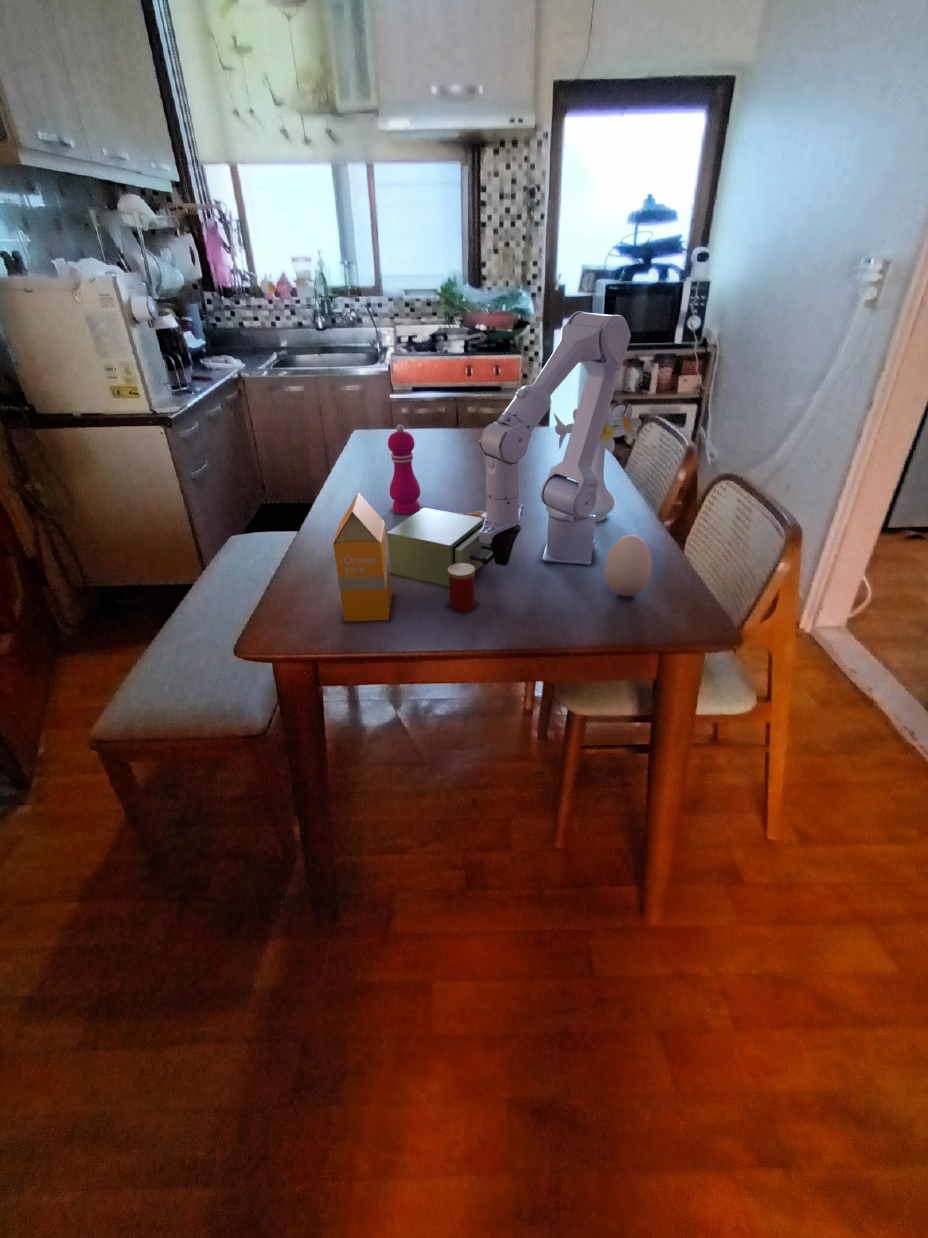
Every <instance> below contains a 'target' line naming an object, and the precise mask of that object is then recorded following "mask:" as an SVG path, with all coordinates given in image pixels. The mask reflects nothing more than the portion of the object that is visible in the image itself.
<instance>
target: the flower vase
mask: <svg viewBox="0 0 928 1238" xmlns="http://www.w3.org/2000/svg"><path fill="white" fill-rule="evenodd" d="M577 410H578V408H574V409H573V411H572V419H573V421H574V420H575V417H576V413H577ZM553 417H554V419H555V421H556V422H555V423H556V425H555V426H554V430H555V433H556V435H558V436H559V438H558V447H559V449H561V448H562V445H563V442H564V440H565V438H566V437H567V434H571V431H572V427H573V424H574V422H573V423H568V424H566V425H565V424H564V422H563V421H562V420H561V419H560V418H559V417H558V416H557V414H556V413H555V412H553ZM640 426H642V419H640V418H639V417H633V406H632V404H627V408H626V405H624V404H620V405H618V406H616V407H615V408H613V410H612V407H611V405H610V406H609V409H608V413H607V416H606V419H605V423H604V426H603V429H602V432H601V436H600V439H599V442H598V445H597V449H596V452H595V455H594V458H593V462H592V465H591V469H592V471H593V473H594V474H595V476H596V477H597V479H598V481H599V483H598V487H597V492H596V504H595V507H594V509H593V510H592V512H591V513H590V514H592V515H596V519H595V523H598V522H602V521H604V520H605V519H606V518H607V515H609V514H610V513H611V512H612V511H613V510H614V507H615V499H614V496H613V494H612V493H611V492H610V491H609V490H608V489H607V486H606V483H605V477H604V475H605V473H604V472H605V471H604V469H605V457H606V456H605V454H606V451H608V452H610V453H612V452H614V451H615V447H616V444H615V440H614V438H619V437H622V436H625V437H628V436H629V435H630V436H631V437H632V438H633V439H634V440H635V441H639V440H640V437H639V434H638V432H637V431H636V430H635V429H636V428H640Z"/></svg>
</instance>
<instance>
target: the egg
mask: <svg viewBox="0 0 928 1238" xmlns="http://www.w3.org/2000/svg"><path fill="white" fill-rule="evenodd" d="M652 563H653V562H652V556H651V552H650V548H649V547H648V546H647V544H646V542H645V541H644V539H642V538H641V537H640V536H638V535H635V534H626V535H623V536H621V537H620V538H619V539H618V540H616V541H615V542H614V544H613V545H612V546H611V547H610V549H609V551H608V553H607V555H606V558H605V562H604V571H603V572H604V577H605V581H606V583H607V586H608V587H609V589H610V590H612V591H613V592H614V593H615V594H617V595H619V596H622V597H630V596H634V595H636V594H638V593H639V592H640V591H642V590H643V589H644V588H645V587H646V586H647V584H648V582H649V581H650V577H651V574H652V568H653V567H652V566H653V564H652Z"/></svg>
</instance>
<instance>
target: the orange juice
mask: <svg viewBox="0 0 928 1238" xmlns="http://www.w3.org/2000/svg"><path fill="white" fill-rule="evenodd" d="M386 531H387V530H386V522H385V520H384V519H383V518H382V517H381V516H380V515H379V513H378V512H377V511H376V510H375V509H374V508H373V507H372V506H371V504H370V503H369V502H368V501H367V500H366V498H364V496H363V495H362V494H361V493H360V491H357V494H356V495H355V497H354V499H353V500H352V502H351V504H350V505H349V507H348V509H347V510H346V512H345V513H344V515H343V517H342V519H341V521H340V522H339V524H338V527H337V530H336V533H335V536H334V539H333V542H332V545H333V552H334V559H335V565H336V566H335V567H336V572H337V580H338V587H339V592H340V600H341V606H342V612H343V613H342V614H343V618H344V619H343V620H344V622H366V621H367V622H368V621H389V619H390V611H391V603H392V596H393V594H392V592H393V591H392V584H391V571H390V558H389V550H388V540H387V532H386Z"/></svg>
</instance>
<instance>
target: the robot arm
mask: <svg viewBox="0 0 928 1238" xmlns="http://www.w3.org/2000/svg"><path fill="white" fill-rule="evenodd" d="M631 337H632V333H631V331H630V329H629V325H628V322H627V320H626V319H625V317H624V316H622V315H620V314H603V313H602V314H601V313H592V312H586V311H582V310H578V311H575V312H574V313H572V314H571V315H570V316H569V318H568V319H567V321H566V323H565V324H564V326H562V327H561V329H560V341H559V342H558V344H557V345H556V347H555V348H554V351H553V352H552V354H551V355H550V357H549V358H548V360H547V362H546V363H545V365H544V366H543V368H542V370H541V371H540V373H539V374H538V376H537V377H536V379H535V380H534V382H533V383H532V384H527V385H523V386H521V388H518V389H517V391H516V392H515V396H514V398H513V399H512V400H511V402H510V403H509V405H508V406H507V407H506V409H504V411H503V413H501V415H500V416H499V418H498V419H497V421H493V422H492V423H489V424H487V426H485V427H484V429H483V430H482V433H481V435H480V439H479V440H478V441H477V442H478V444H477V445H478V448H479V451H480V452H481V454H482V455H483V464H485V494H486V496H485V498H486V499H485V505H486V506H485V509H486V511H484V512H485V513H483V514H482V515H481V519H482V520H485V521H484V525H483V528H482V530H481V531H480V542H483V543H488V544H490V546H491V549H492V552H493V556H494V559H493V560H494V563H495V565H499V566H503V567H506V566H507V565H508V564H509V562H510V559H511V556H512V551H513V547H514V544H515V541H516V539H517V537H518V535H519V534H520V531H521V527H522V526H521V525H519V524H520V521H521V520H520V519H521V516H522V515H523V514H524V504H522V503H520V470H521V469H520V468H521V459H522V458H523V457H524V456H525V455H526V454H527V451H528V450H529V449H528V448H529V443H530V440H531V439H532V432H533V431H534V430H535V429H536V427H537V426H538V424H539V423H540V422H541V420H542V419H543V418H544V416H545V415H546V414H547V412H548V411H549V409H550V406H551V402H550V397H551V396H552V395H553V394H554V392H555V391H557V388H559V386H560V385H561V384H562V383H563V381H564V380H565V379H566V378H567V377H568V376H569V375H570V373H572V371H573V370H574V369H575V368H576V366H578V364H580V363H581V364H582V365H583V367H584V369H585V371H586V373H587V375H586V380H585V381H584V386H583V389H582V393H581V396H580V400H579V403H578V407H577V409H578V410H577V413H576V417H575V420H574V419H573V423H574V424H573V427H572V431H571V433H569V437H568V441H567V443H566V448H565V452H564V455H563V457H562V460H561V461H560V462H557V463H556V464H555V465H552V467H550V469H549V473H548V476H547V477H546V478H545V480H544V482H543V483H542V485H541V489H540V499H541V502H542V503H543V504H544V505H545V511H546V512H547V531H546V532H547V534H546V544H545V548H544V551H543V556H542V560H541V561H542V562H547V563H550V562H551V563H559V564H560V563H561V564H573V565H585V566H589V565H592V559H593V552H595V548H596V547H595V546H596V542H595V541H594V539H595V528H596V522H595V519H596V515H592V514H590V513H591V512H592V510H593V509H594V507H595V504H596V492H597V487H598V483H599V481H598V479H597V477H596V476H595V474H594V473H593V471H592V469H591V465H592V462H593V458H594V455H595V452H596V449H597V445H598V442H599V439H600V436H601V432H602V429H603V426H604V423H605V419H606V416H607V413H608V409H609V406H610V407H611V403H612V400H613V397H614V393H615V390H616V387H617V383H618V380H619V377H620V373H621V369H622V366H623V363H624V360H625V356H626V353H627V350H628V347H629V343H630V340H631Z"/></svg>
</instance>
